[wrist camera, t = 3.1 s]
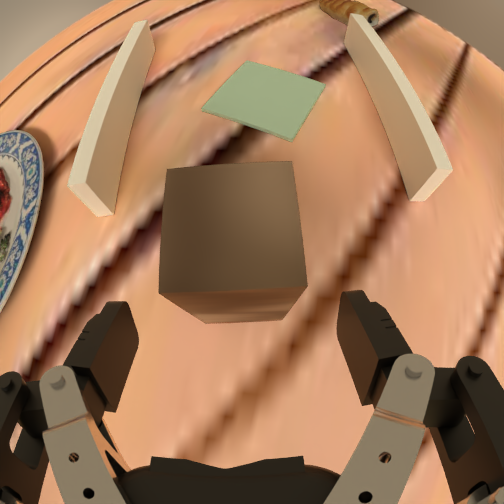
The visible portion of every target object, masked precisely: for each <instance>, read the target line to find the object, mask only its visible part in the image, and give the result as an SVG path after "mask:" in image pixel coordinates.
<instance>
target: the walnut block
mask: <svg viewBox="0 0 504 504" xmlns="http://www.w3.org/2000/svg"><path fill="white" fill-rule="evenodd" d="M307 286H308V285H307V275H306V266H305V257H304V248H303V239H302V231H301V223H300V215H299V207H298V200H297V192H296V185H295V178H294V172H293V165H292V161H280V162H253V163H234V164H219V165H206V166H194V167H184V168H174V169H167V174H166V183H165V193H164V204H163V215H162V229H161V244H160V264H159V294H161V295H162V296H164V297H165V298H167V299H168V300H170V301H171V302H173V303H174V304H176V305H177V306H179V307H180V308H182V309H183V310H185V311H186V312H188V313H190V314H191V315H193V316H194V317H196V318H197V319H199V320H201V321H202V322H204V323H205V324H211V323H239V322H259V321H275V320H282V319H283V318H284V317H285V316H286V314H287V313H288V312H289V310H290V309H291V308H292V306H293V305H294V304H295V302H296V301H297V300H298V298H299V297H300V296H301V294H302V293H303V292H304V290H305V289H306V288H307Z"/></svg>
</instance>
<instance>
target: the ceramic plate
mask: <svg viewBox="0 0 504 504" xmlns="http://www.w3.org/2000/svg"><path fill="white" fill-rule="evenodd" d="M43 184H44V162H43V156H42V151H41V149H40V146H39V144H38V142H37V141H36V139H35V138H34V137H33V136H32V135H31V134H29V133H27V132H25V131H21V130H12V131H7V132H4V133H1V134H0V312H1V311H2V309H3V307H4V305H5V303H6V302H7V299H8V297H9V295H10V293H11V291H12V289H13V287H14V285H15V282H16V280H17V278H18V275H19V273H20V270H21V268H22V265H23V263H24V260H25V257H26V254H27V252H28V249H29V246H30V242H31V239H32V236H33V233H34V229H35V225H36V222H37V218H38V214H39V209H40V203H41V198H42V192H43Z"/></svg>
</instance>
